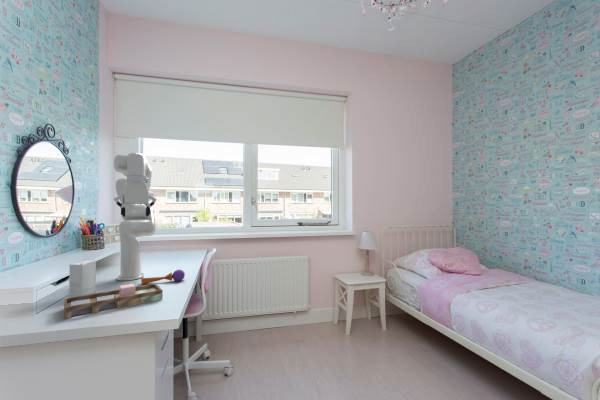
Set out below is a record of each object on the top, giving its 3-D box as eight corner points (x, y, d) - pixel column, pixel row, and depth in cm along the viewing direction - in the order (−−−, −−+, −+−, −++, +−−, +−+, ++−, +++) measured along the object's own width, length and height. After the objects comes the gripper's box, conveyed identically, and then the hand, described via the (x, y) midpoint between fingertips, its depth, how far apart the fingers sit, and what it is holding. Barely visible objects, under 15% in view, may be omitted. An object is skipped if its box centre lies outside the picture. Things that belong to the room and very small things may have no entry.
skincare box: (83, 292, 126) (84, 259, 126) (96, 292, 125) (97, 259, 126) (67, 298, 117) (68, 263, 117) (81, 298, 117) (82, 264, 117)
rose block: (119, 295, 114) (119, 285, 115) (133, 292, 118) (133, 283, 118) (121, 298, 111) (121, 288, 111) (135, 295, 114) (135, 286, 114)
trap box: (63, 319, 97) (63, 307, 97) (64, 309, 106) (64, 298, 106) (162, 299, 117) (162, 289, 117) (155, 292, 126) (155, 283, 126)
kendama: (142, 275, 141) (184, 268, 150) (142, 287, 141) (185, 279, 149) (140, 275, 136) (184, 269, 144) (141, 288, 135) (185, 280, 143)
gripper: (154, 181, 138) (154, 215, 137) (112, 179, 126) (112, 216, 126) (158, 180, 132) (158, 215, 131) (115, 177, 121) (114, 216, 120)
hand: (135, 216), depth 129 cm, fingers open, 9 cm apart
